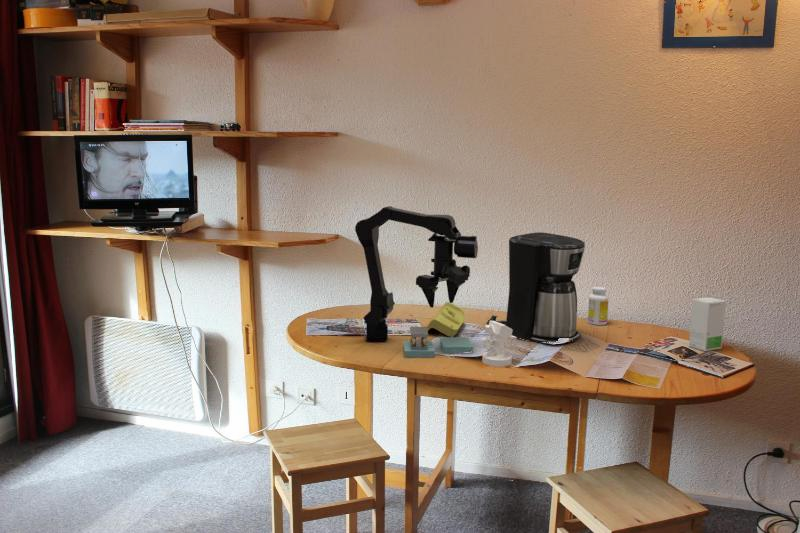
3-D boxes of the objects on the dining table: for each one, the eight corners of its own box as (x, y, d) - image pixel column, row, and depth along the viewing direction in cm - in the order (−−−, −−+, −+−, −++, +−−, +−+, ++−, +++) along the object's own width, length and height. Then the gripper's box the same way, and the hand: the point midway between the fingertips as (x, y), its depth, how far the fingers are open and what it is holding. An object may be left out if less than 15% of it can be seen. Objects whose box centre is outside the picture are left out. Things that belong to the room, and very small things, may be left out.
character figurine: (476, 359, 200) (477, 320, 198) (502, 355, 205) (503, 316, 203) (494, 368, 193) (495, 327, 191) (520, 363, 197) (522, 323, 195)
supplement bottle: (608, 322, 243) (610, 287, 241) (605, 326, 237) (607, 290, 235) (589, 319, 246) (591, 285, 244) (585, 324, 240) (587, 288, 238)
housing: (411, 350, 203) (411, 334, 202) (409, 342, 210) (410, 326, 209) (427, 350, 203) (428, 333, 202) (425, 342, 211) (426, 326, 210)
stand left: (404, 357, 202) (404, 351, 201) (403, 347, 212) (403, 341, 211) (434, 357, 202) (434, 351, 202) (431, 347, 212) (432, 341, 212)
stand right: (443, 353, 206) (443, 347, 206) (440, 343, 216) (440, 337, 216) (472, 353, 206) (472, 346, 206) (468, 343, 216) (468, 337, 216)
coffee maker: (575, 349, 211) (581, 242, 205) (475, 338, 222) (477, 236, 216) (583, 330, 232) (589, 233, 226) (491, 321, 243) (494, 228, 237)
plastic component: (456, 331, 222) (430, 316, 223) (447, 349, 224) (420, 334, 226) (468, 312, 240) (444, 299, 242) (459, 329, 243) (435, 316, 244)
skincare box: (704, 352, 209) (709, 303, 206) (686, 346, 215) (691, 298, 212) (722, 348, 213) (727, 300, 210) (704, 342, 219) (709, 296, 216)
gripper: (442, 263, 197) (440, 315, 200) (482, 256, 210) (480, 305, 213) (415, 257, 204) (413, 307, 207) (455, 251, 217) (453, 298, 220)
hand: (441, 305), depth 212 cm, fingers open, 9 cm apart
